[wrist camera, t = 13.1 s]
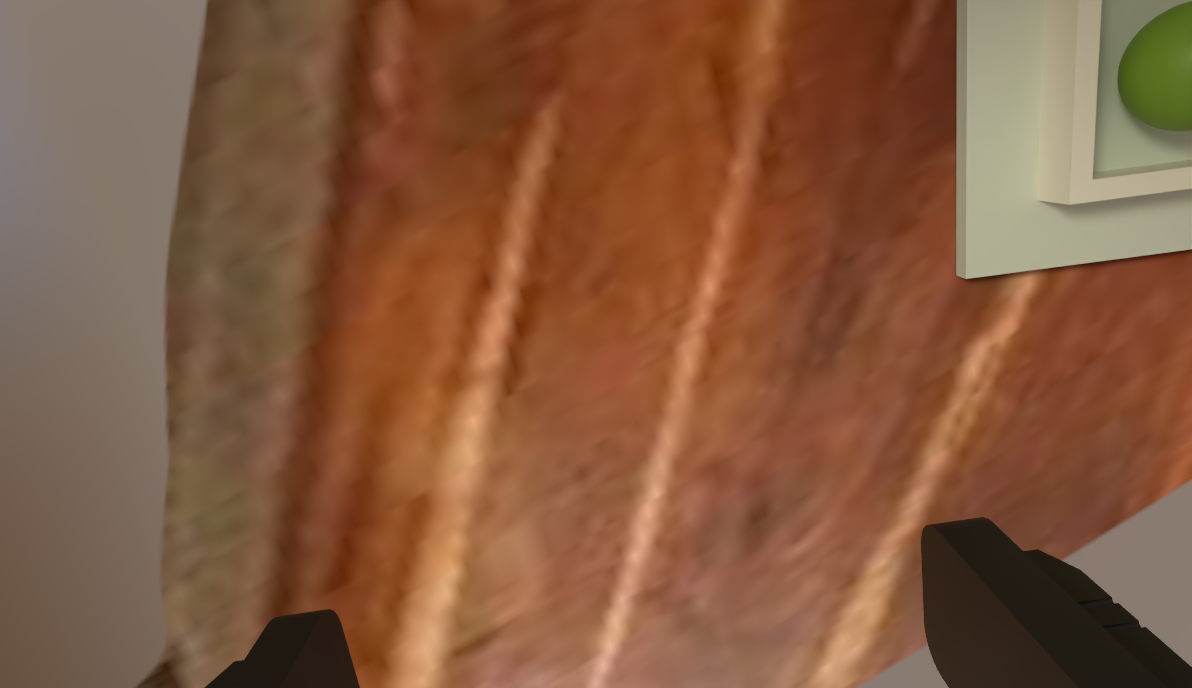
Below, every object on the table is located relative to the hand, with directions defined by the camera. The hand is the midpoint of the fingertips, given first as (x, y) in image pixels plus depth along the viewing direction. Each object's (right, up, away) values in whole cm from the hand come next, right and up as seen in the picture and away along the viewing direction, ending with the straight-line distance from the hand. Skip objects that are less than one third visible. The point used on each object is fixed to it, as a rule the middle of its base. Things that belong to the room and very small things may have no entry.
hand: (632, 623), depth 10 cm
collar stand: (+26, +17, +25) cm, 40 cm away
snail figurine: (+25, +17, +25) cm, 39 cm away
